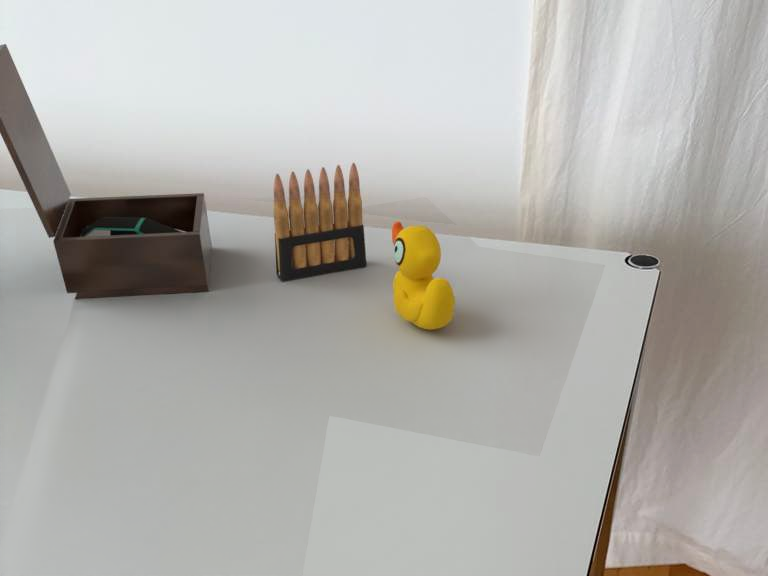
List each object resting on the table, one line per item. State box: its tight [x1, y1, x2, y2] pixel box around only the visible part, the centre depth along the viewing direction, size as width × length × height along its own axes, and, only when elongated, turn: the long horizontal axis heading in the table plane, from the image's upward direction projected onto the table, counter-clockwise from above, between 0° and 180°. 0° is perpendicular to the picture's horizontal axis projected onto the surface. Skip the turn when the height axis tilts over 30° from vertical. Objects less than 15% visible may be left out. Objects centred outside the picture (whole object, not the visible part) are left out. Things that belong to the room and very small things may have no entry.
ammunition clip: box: [273, 162, 368, 282], centre depth 103 cm, size 11×2×12 cm, turn 112°
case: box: [53, 192, 213, 299], centre depth 104 cm, size 16×12×7 cm
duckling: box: [391, 221, 456, 330], centre depth 95 cm, size 11×5×10 cm, turn 27°
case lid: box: [0, 43, 72, 239], centre depth 95 cm, size 16×12×1 cm
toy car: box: [81, 217, 185, 237], centre depth 104 cm, size 6×12×5 cm, turn 88°
